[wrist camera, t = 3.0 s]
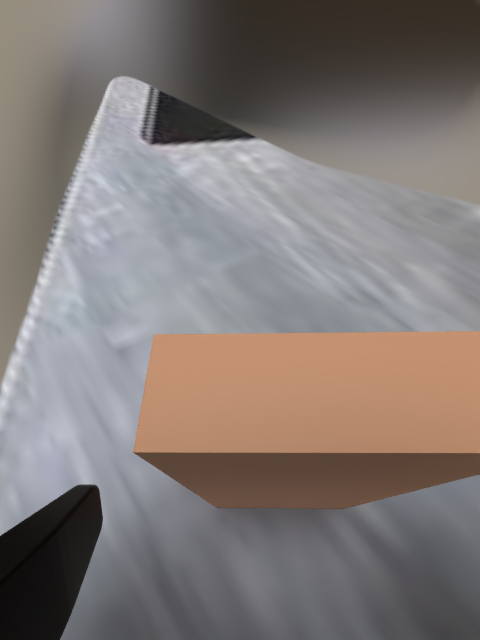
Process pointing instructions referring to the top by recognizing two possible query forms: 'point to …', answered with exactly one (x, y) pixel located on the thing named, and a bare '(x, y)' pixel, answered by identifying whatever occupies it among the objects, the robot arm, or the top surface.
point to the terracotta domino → (311, 415)
